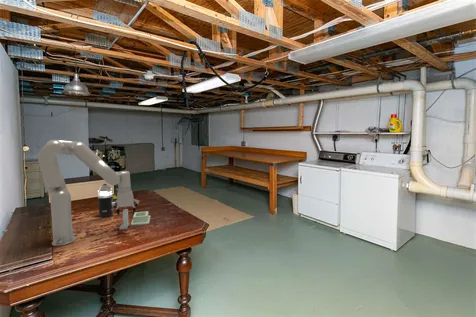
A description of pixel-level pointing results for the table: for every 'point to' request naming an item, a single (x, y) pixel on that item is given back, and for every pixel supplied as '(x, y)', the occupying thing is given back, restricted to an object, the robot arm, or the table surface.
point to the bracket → (124, 220)
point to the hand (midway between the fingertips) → (126, 213)
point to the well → (140, 218)
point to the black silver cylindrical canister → (105, 201)
